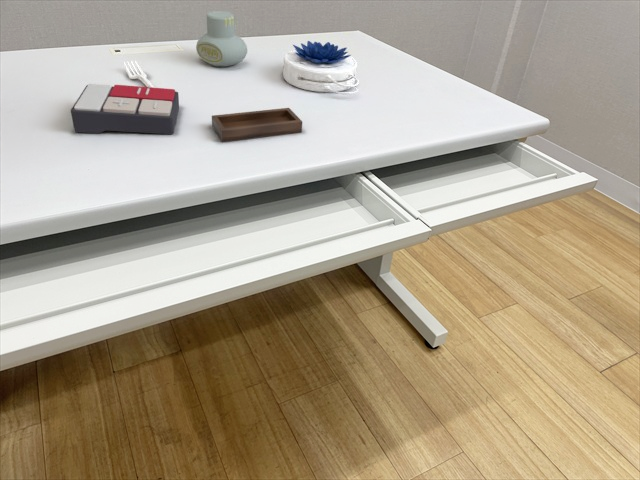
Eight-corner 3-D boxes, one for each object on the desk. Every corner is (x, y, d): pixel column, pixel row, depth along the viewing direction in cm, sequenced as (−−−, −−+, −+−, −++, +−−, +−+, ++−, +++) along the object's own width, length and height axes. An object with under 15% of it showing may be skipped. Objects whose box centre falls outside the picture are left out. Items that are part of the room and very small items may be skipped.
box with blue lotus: (271, 37, 100) (320, 69, 87) (333, 33, 107) (386, 61, 94) (270, 70, 104) (316, 105, 91) (330, 64, 111) (381, 95, 98)
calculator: (172, 113, 74) (68, 106, 71) (173, 138, 77) (73, 132, 74) (178, 87, 83) (86, 79, 80) (179, 110, 85) (90, 104, 82)
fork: (159, 108, 84) (157, 97, 83) (122, 71, 96) (121, 61, 95) (176, 105, 85) (175, 95, 84) (139, 69, 98) (137, 60, 97)
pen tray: (222, 142, 76) (221, 130, 75) (212, 126, 80) (211, 115, 79) (301, 132, 81) (302, 121, 80) (288, 118, 85) (289, 107, 84)
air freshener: (190, 61, 104) (187, 12, 98) (215, 52, 110) (213, 6, 104) (230, 73, 100) (229, 23, 94) (253, 64, 106) (253, 16, 100)
